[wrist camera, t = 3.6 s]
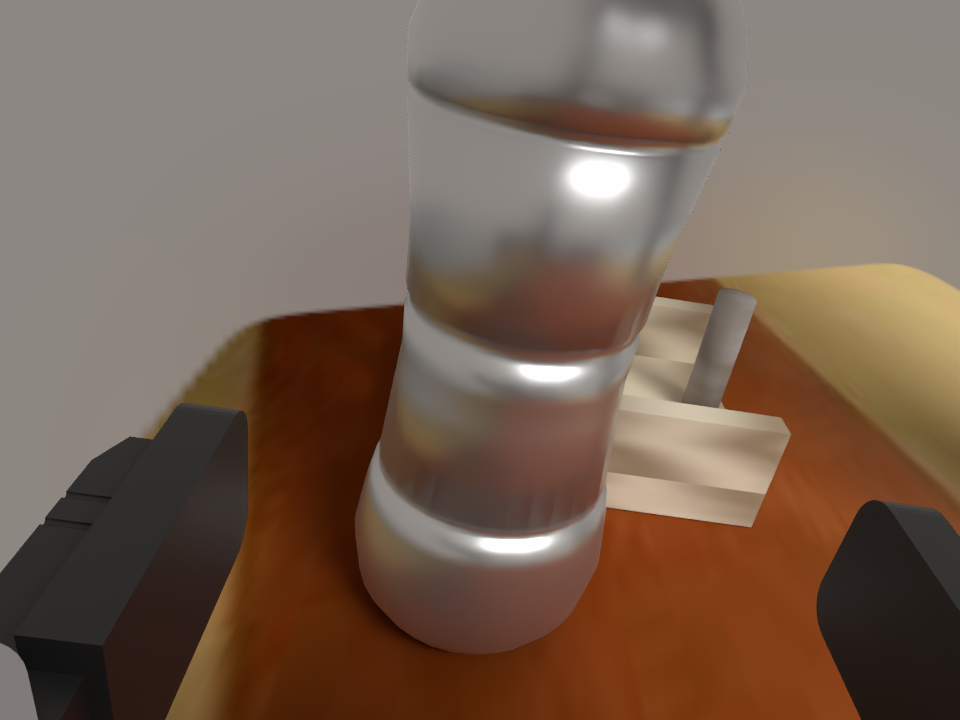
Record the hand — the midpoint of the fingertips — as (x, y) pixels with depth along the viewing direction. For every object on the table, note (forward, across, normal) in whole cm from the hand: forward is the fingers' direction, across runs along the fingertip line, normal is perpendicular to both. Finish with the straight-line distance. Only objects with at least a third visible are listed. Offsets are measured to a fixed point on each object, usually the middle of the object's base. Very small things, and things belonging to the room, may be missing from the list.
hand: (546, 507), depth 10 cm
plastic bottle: (+8, 0, +10) cm, 13 cm away
